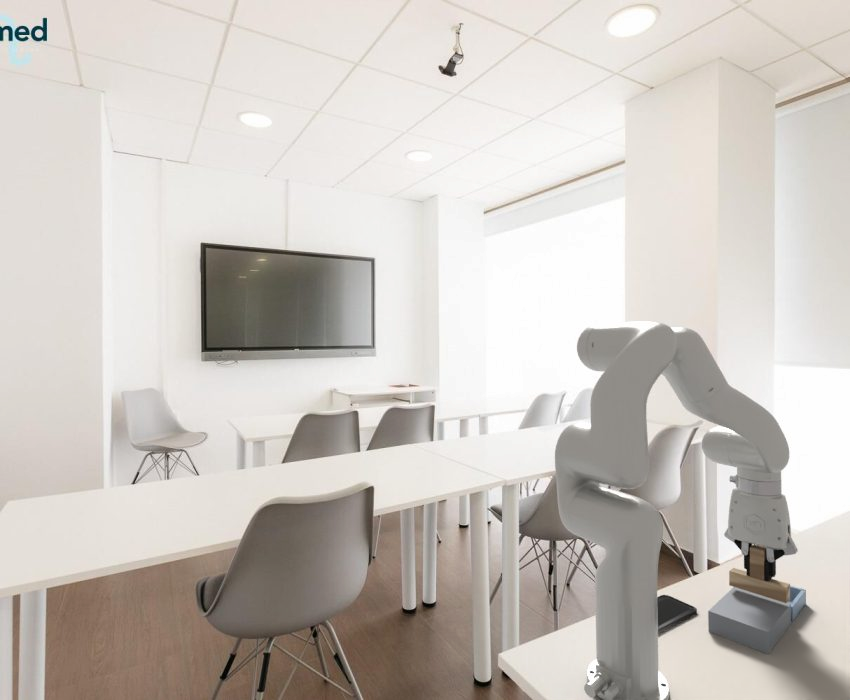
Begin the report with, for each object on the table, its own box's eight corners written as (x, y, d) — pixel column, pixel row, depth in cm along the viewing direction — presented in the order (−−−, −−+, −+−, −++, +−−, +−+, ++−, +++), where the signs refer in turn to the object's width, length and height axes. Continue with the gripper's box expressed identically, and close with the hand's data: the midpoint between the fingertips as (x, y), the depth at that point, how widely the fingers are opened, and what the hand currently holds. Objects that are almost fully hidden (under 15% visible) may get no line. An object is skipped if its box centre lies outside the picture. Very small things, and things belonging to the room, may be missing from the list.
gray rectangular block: (768, 654, 92) (768, 632, 92) (708, 631, 100) (708, 610, 100) (790, 624, 101) (790, 604, 101) (734, 605, 109) (734, 586, 109)
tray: (792, 622, 102) (792, 607, 102) (736, 603, 110) (736, 589, 110) (805, 604, 109) (805, 590, 109) (752, 587, 116) (751, 574, 116)
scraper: (786, 603, 99) (786, 556, 99) (729, 585, 107) (729, 541, 107) (790, 599, 101) (790, 553, 101) (733, 581, 109) (733, 539, 109)
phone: (699, 609, 107) (654, 632, 99) (699, 614, 107) (654, 638, 99) (664, 593, 113) (619, 614, 105) (664, 598, 113) (619, 619, 105)
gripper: (708, 482, 108) (709, 569, 108) (802, 498, 95) (802, 597, 96) (722, 474, 113) (723, 558, 113) (812, 490, 100) (813, 583, 101)
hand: (759, 575), depth 104 cm, fingers closed on scraper, 2 cm apart
